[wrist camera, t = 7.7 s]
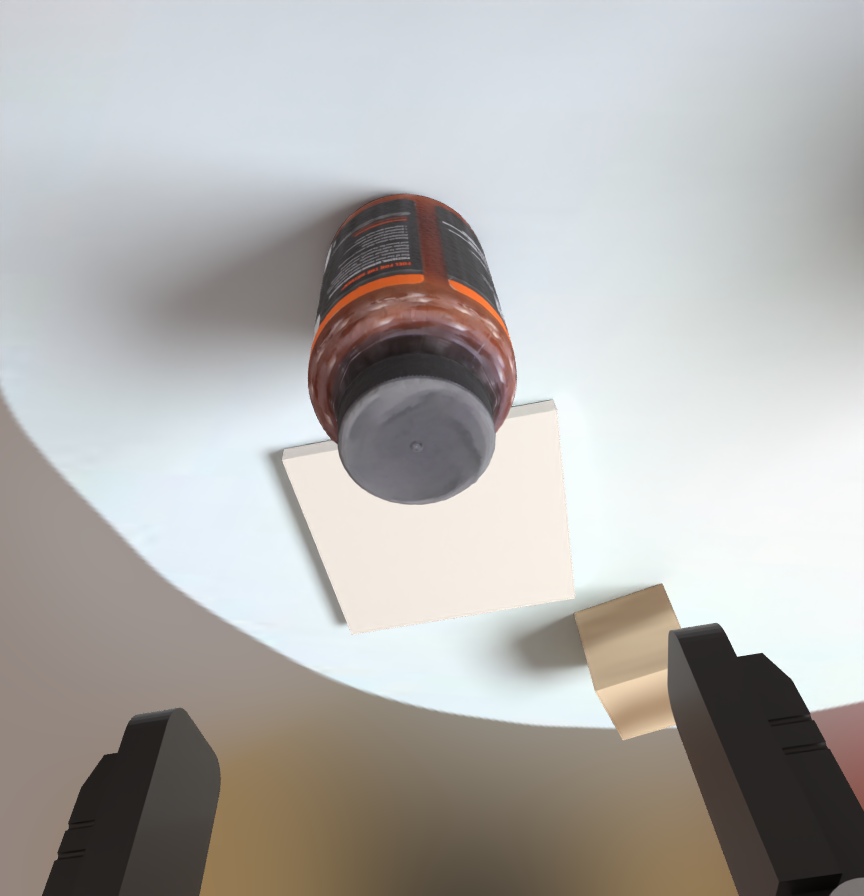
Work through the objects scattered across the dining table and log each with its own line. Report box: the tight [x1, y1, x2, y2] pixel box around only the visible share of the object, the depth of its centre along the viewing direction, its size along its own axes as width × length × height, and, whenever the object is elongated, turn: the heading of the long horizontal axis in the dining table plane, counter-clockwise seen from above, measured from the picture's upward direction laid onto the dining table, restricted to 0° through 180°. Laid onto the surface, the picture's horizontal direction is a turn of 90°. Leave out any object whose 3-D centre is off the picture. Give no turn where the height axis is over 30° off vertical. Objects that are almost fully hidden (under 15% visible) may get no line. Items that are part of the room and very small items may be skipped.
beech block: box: [574, 584, 681, 740], centre depth 37 cm, size 5×5×5 cm
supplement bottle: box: [308, 194, 517, 505], centre depth 22 cm, size 6×6×11 cm
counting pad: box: [282, 400, 575, 635], centre depth 34 cm, size 12×12×1 cm
